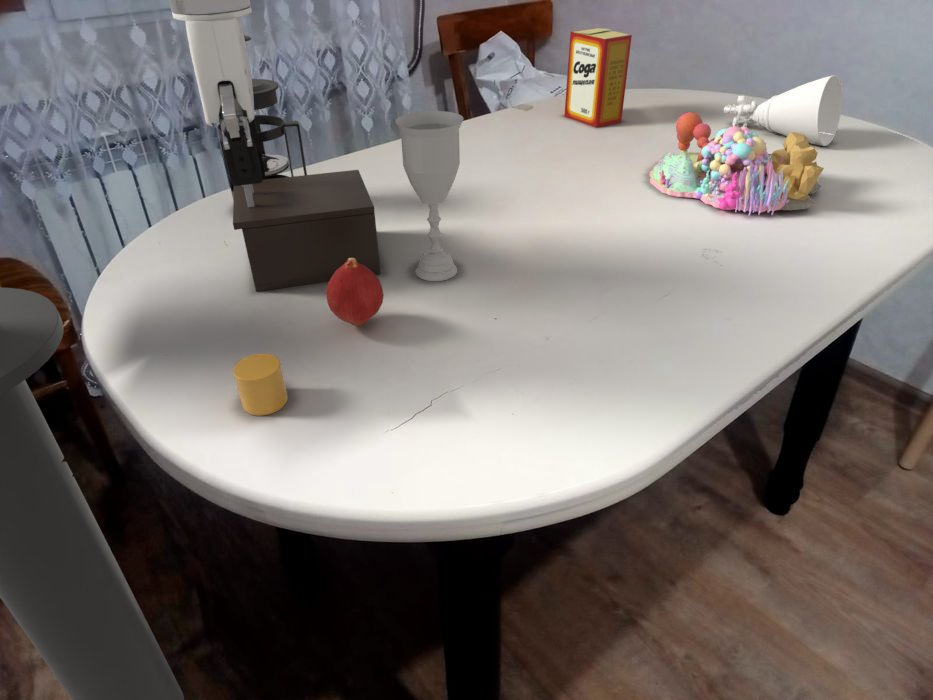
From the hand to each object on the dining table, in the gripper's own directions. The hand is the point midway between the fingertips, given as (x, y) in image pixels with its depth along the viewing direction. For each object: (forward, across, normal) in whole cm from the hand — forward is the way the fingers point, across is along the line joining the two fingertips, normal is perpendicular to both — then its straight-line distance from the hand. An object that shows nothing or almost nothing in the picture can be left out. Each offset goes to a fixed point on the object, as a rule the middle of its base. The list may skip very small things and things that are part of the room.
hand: (247, 168), depth 74 cm
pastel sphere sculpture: (+14, -6, +70) cm, 71 cm away
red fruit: (+13, +17, +9) cm, 23 cm away
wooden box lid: (+5, 0, +5) cm, 7 cm away
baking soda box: (+14, -45, +64) cm, 80 cm away
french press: (+12, -19, +1) cm, 23 cm away
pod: (+12, +27, -1) cm, 30 cm away
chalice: (+13, +8, +20) cm, 25 cm away
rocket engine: (+14, -26, +94) cm, 98 cm away
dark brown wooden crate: (+12, 0, +6) cm, 14 cm away
